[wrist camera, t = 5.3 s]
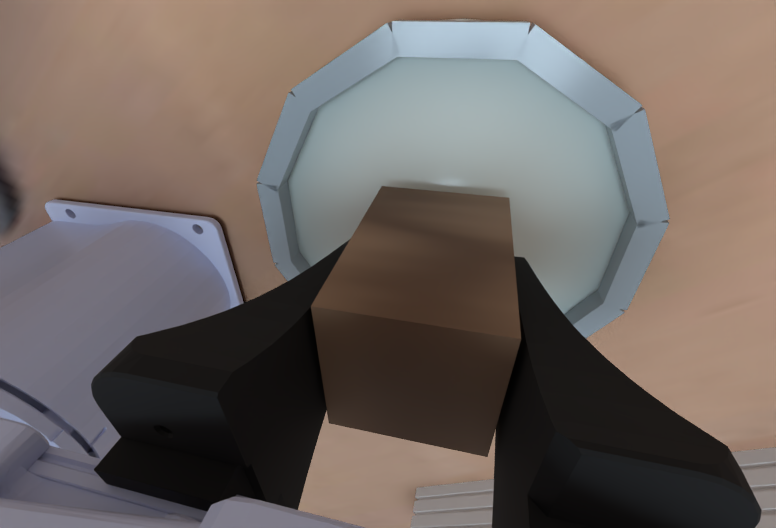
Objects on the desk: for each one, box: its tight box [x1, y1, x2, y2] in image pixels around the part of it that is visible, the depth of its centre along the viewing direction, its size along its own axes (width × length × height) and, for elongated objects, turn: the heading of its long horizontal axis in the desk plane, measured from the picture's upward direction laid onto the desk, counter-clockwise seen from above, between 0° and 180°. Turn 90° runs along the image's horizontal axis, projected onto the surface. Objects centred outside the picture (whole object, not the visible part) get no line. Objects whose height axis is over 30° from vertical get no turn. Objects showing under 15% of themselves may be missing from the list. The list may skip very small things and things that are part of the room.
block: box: [311, 186, 521, 457], centre depth 11 cm, size 4×4×6 cm
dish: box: [257, 18, 670, 338], centre depth 14 cm, size 13×13×2 cm
